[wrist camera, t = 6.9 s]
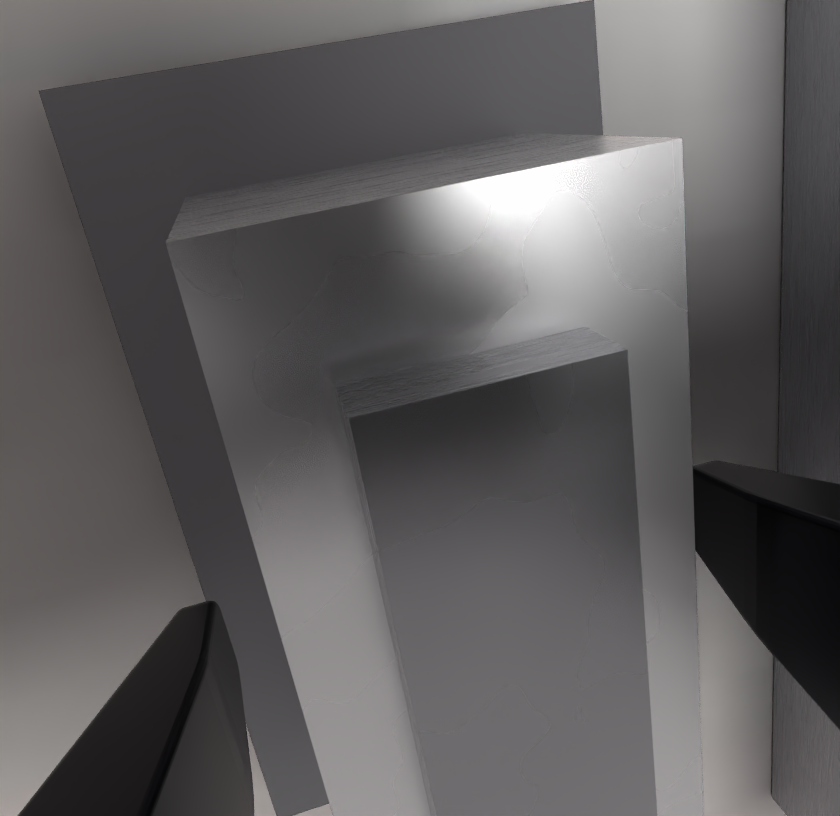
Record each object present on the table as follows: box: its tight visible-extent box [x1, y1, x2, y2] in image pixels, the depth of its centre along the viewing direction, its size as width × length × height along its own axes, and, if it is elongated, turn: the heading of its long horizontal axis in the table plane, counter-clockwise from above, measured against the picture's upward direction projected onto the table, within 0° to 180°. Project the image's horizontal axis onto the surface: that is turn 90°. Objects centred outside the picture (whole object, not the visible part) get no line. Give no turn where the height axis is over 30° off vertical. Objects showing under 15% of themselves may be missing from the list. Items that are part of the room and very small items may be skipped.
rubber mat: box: [39, 0, 603, 816], centre depth 12 cm, size 12×7×1 cm, turn 10°
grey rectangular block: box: [166, 133, 704, 816], centre depth 10 cm, size 9×4×5 cm, turn 10°
